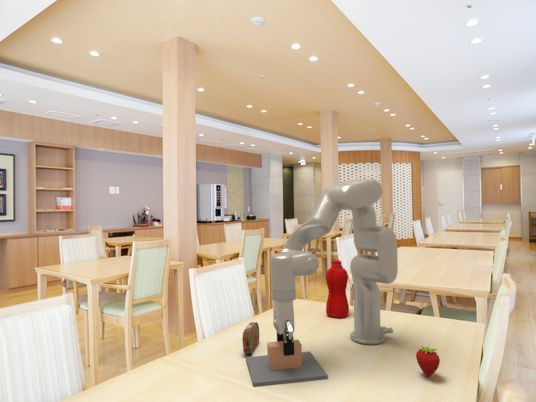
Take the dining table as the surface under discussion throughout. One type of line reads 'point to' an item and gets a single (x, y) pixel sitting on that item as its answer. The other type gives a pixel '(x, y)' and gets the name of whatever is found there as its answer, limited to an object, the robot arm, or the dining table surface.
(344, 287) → the water bottle
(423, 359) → the strawberry
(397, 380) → the dining table surface
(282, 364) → the card box
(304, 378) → the mat
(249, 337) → the brown rounded slab
